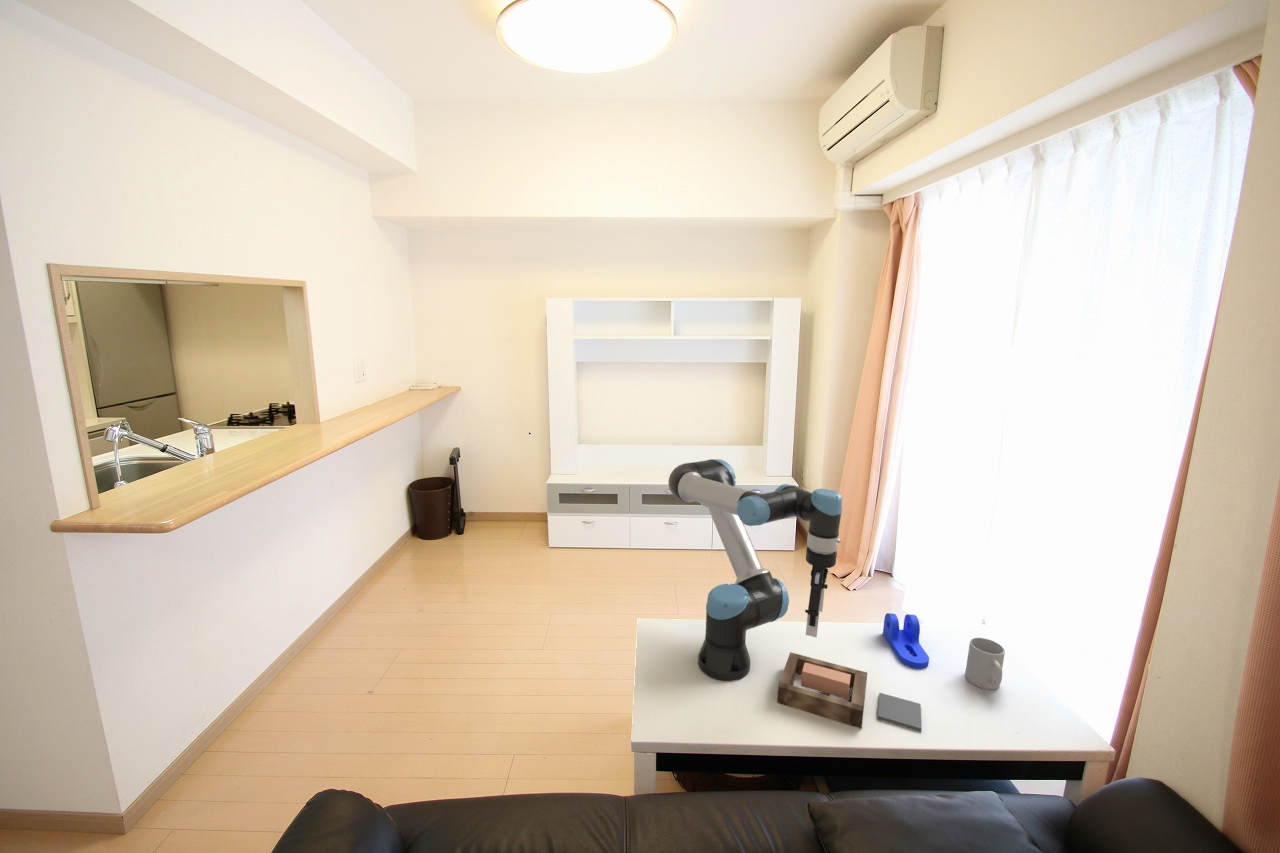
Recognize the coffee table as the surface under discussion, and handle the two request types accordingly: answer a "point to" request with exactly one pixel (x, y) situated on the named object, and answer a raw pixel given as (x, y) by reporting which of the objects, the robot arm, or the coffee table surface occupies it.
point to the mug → (984, 663)
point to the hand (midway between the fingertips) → (814, 622)
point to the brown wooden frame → (823, 702)
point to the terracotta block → (826, 680)
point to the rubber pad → (899, 712)
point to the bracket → (905, 640)
